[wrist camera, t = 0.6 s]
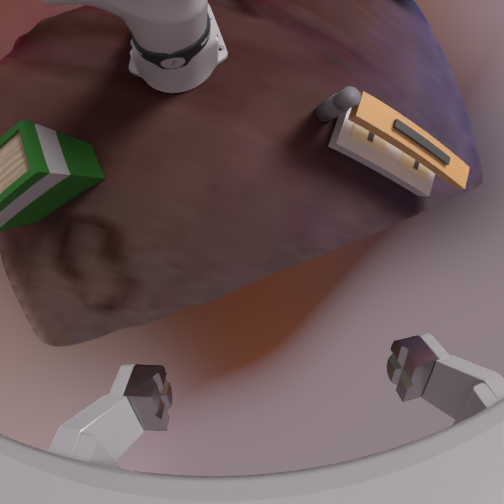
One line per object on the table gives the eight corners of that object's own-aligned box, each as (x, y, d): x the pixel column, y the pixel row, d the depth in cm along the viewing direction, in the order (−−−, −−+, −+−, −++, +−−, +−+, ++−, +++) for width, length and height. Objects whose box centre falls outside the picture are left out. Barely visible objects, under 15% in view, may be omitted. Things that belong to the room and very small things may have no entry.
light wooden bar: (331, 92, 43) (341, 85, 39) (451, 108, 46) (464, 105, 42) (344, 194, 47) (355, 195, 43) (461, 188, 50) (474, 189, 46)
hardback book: (37, 222, 48) (-41, 242, 24) (25, 190, 46) (-54, 195, 23) (105, 178, 49) (37, 171, 25) (91, 144, 47) (22, 118, 24)
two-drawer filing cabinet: (305, 135, 52) (321, 127, 44) (324, 84, 51) (341, 70, 43) (417, 195, 58) (441, 197, 50) (430, 149, 56) (453, 146, 48)
